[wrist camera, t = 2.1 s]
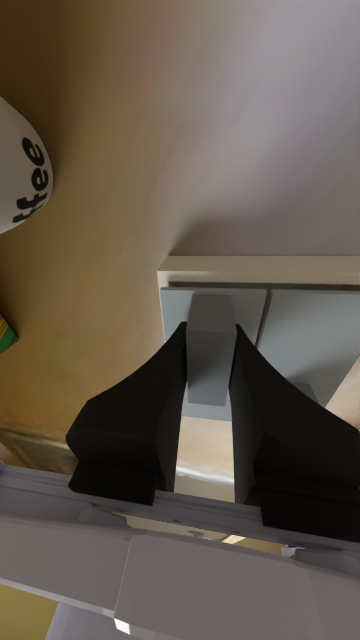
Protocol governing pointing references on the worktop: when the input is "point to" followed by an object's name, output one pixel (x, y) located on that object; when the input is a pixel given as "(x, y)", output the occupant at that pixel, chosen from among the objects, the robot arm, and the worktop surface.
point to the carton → (261, 274)
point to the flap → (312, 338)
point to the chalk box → (6, 335)
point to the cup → (21, 169)
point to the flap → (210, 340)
